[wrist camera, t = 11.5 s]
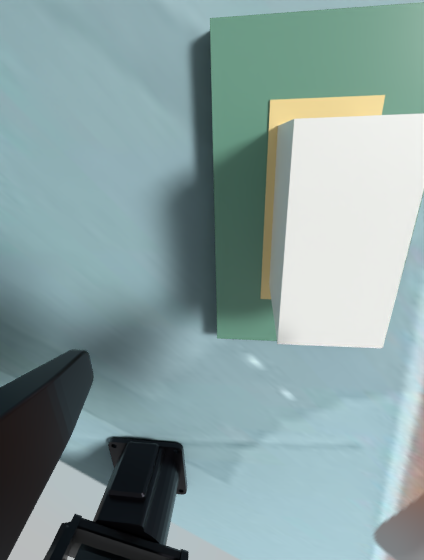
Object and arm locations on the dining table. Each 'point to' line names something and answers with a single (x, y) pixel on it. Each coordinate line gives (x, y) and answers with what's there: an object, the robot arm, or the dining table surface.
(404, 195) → the box
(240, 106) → the board
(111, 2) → the dining table surface
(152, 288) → the dining table surface
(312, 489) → the dining table surface
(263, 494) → the dining table surface
